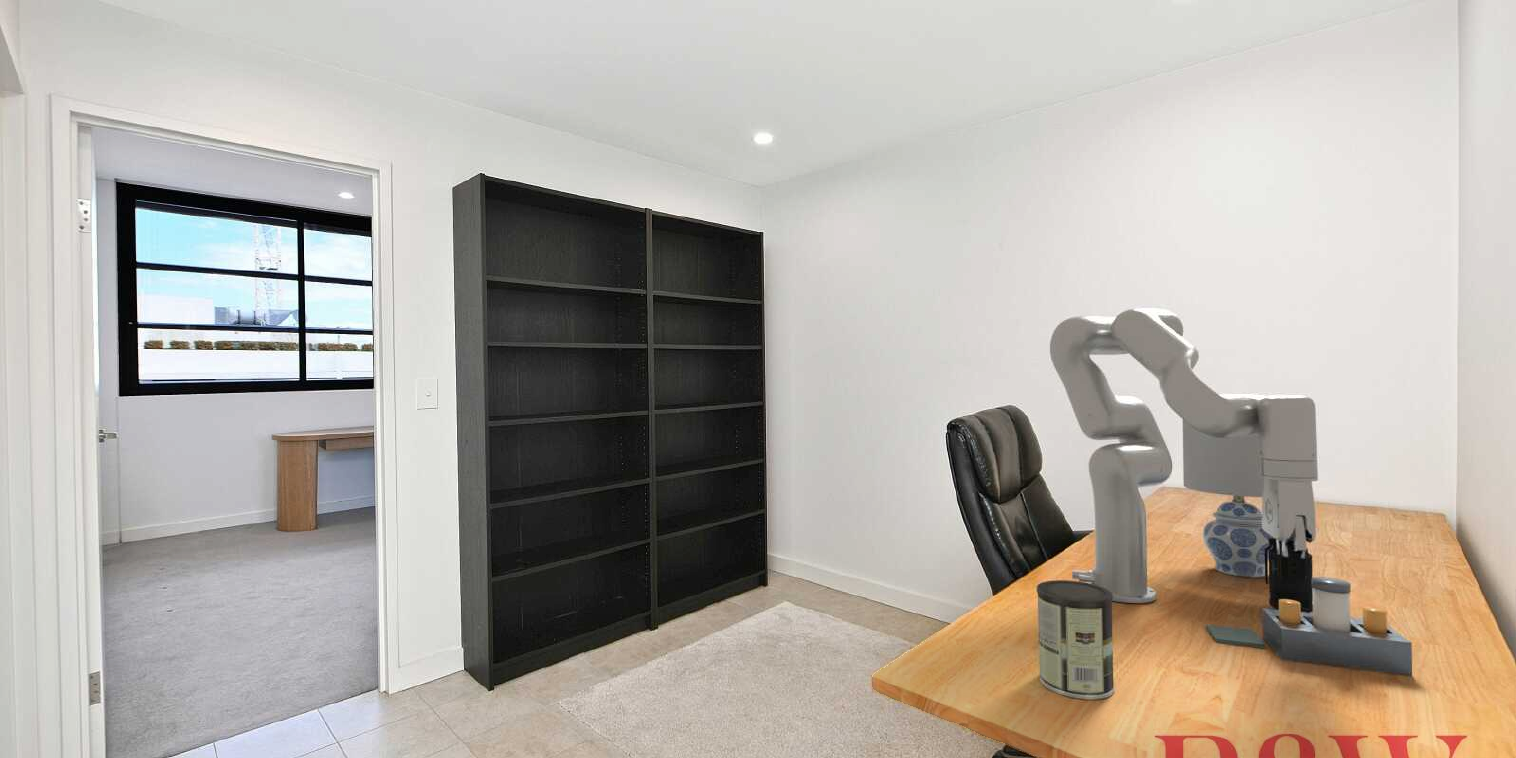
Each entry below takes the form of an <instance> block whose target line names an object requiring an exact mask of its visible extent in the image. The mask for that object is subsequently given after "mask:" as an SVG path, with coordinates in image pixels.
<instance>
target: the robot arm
mask: <svg viewBox="0 0 1516 758" xmlns="http://www.w3.org/2000/svg"><path fill="white" fill-rule="evenodd" d="M1183 335H1184V326H1183V323H1182V320H1181V319H1180V317H1178V315H1176V314H1175V313H1173V312H1171V311H1169V310H1167V309H1159V308H1158V309H1157V308H1131V309H1126V310H1124V311H1122V312H1120V313H1119V314H1117V315H1116V316H1093V315H1092V316H1088V315H1087V316H1086V315H1081V316H1080V315H1079V316H1074V317H1073V316H1072V317H1070V318H1066V319H1064V320H1063V321H1061V322H1060V323H1059V324H1058V325H1056V327H1055V329H1054V330H1053V332H1052V335H1051V338H1050V342H1049V355H1050V360H1051V362H1052V364H1053V367H1054V370H1055V371H1056V373H1057V374H1058V377H1059V378H1060V381H1061V383H1062V384H1063V387H1064V389H1065V391H1066V394H1067V397H1068V400H1069V403H1070V405H1071V408H1072V409H1073V412H1074V416H1075V418H1076V420H1077V423H1078V426H1079V427H1080V429H1081V431H1082V433H1083V434H1084V435H1085V437H1086V438H1088V439H1091V440H1096V441H1113V440H1118V441H1119V443H1110V444H1109V443H1108V444H1106V445H1103V446H1101V447H1099V448H1096V450H1095V451H1093V453H1092V454H1091V456H1090V458H1089V461H1088V473H1089V476H1090V478H1089V479H1090V482H1091V485H1092V486H1091V487H1092V493H1093V503H1094V504H1093V505H1094V506H1093V507H1094V538H1095V541H1094V543H1095V544H1094V547H1095V551H1094V552H1095V566H1092V569H1088V571H1086V570H1083V571H1082V570H1080V569H1072V570H1071V578H1072V579H1073V580H1078V582H1085V583H1090V584H1094V585H1097V586H1100V587H1103V588H1105V589H1107V590H1109V591H1110V592H1111V593H1112V595H1113V600H1112V602H1118V603H1127V604H1144V603H1145V604H1146V603H1152V602H1154V601H1155V600H1156V599H1157V592H1156V591H1155V590H1154V589H1153V588H1151V587H1149V586H1148V553H1147V552H1148V551H1147V550H1148V549H1147V548H1148V547H1147V545H1148V544H1147V510H1146V506H1145V503H1144V499H1143V498H1142V495H1141V493H1140V491H1139V488H1146V487H1153V486H1158V485H1161V484H1163V483H1165V482H1166V481H1168V479H1169V478H1170V477H1171V474H1172V472H1173V461H1172V457H1171V454H1170V451H1169V449H1168V446H1167V444H1166V442H1165V439H1164V437H1163V435H1162V432H1161V431H1160V427H1159V425H1158V423H1157V421H1156V418H1155V417H1154V414H1153V413H1152V411H1151V409H1150V408H1149V407H1148V406H1147V405H1146V404H1145V402H1144V401H1142V400H1140V399H1139V398H1137V397H1134V396H1129V395H1115V393H1114V392H1113V391H1112V389H1111V386H1110V384H1109V382H1108V379H1107V376H1106V374H1104V372H1103V370H1102V369H1101V368H1100V366H1098V365H1097V364H1096V363H1095V362H1094V361H1093V359H1091V355H1093V356H1097V355H1098V356H1099V355H1100V356H1105V355H1107V356H1118V355H1127V354H1129V355H1130V356H1131V357H1132V358H1133V359H1135V360H1136V361H1137V362H1138V363H1139V364H1140V365H1141V366H1142V367H1144V368H1145V369H1146V370H1147V371H1148V372H1149V373H1150V374H1152V375H1153V376H1154V377H1155V378H1156V379H1157V380H1158V382H1159V383H1158V384H1159V388H1160V391H1161V394H1162V396H1163V398H1164V400H1165V402H1166V404H1167V405H1168V406H1169V408H1170V409H1171V410H1172V411H1173V412H1174V413H1175V414H1176V415H1177V416H1178V417H1179V418H1181V419H1182V421H1183V420H1184V421H1185V422H1186V423H1188V424H1189V425H1190V426H1191V427H1192V428H1194V429H1195V430H1196V431H1198V432H1200V433H1202V434H1203V435H1206V436H1209V437H1212V438H1228V437H1246V436H1258V435H1259V457H1260V458H1259V461H1260V477H1261V478H1264V482H1263V494H1262V497H1261V501H1262V502H1261V506H1262V507H1261V514H1262V528H1263V530H1264V531H1265V532H1266V533H1268V534H1269V535H1271V536H1272V537H1274V538H1275V539H1276V542H1277V552H1278V554H1282V555H1277V557H1278V577H1279V578H1280V579H1281V580H1282V581H1286V582H1299V583H1304V582H1305V551H1307V543H1310V544H1311V543H1313V542H1314V541H1315V540H1316V535H1317V533H1316V532H1317V531H1316V530H1317V529H1316V528H1317V524H1316V523H1317V522H1316V507H1315V497H1314V495H1315V494H1314V489H1313V482H1317V481H1319V478H1318V477H1319V473H1318V471H1319V470H1318V448H1317V447H1318V446H1317V445H1318V444H1317V441H1318V440H1317V439H1318V437H1317V416H1316V415H1317V414H1316V411H1317V409H1316V404H1315V401H1314V400H1313V399H1312V398H1311V397H1309V396H1305V395H1268V396H1265V395H1258V394H1249V393H1248V394H1247V393H1245V394H1243V393H1240V394H1239V393H1238V394H1236V393H1235V394H1233V393H1232V394H1228V393H1227V394H1219V393H1217V392H1216V391H1215V390H1213V389H1212V388H1211V387H1209V386H1208V385H1207V384H1206V383H1204V382H1203V381H1202V380H1201V379H1200V378H1199V377H1198V376H1197V375H1196V374H1195V372H1194V371H1193V369H1194V368H1195V367H1196V365H1197V364H1198V360H1199V359H1200V358H1199V357H1200V355H1199V351H1198V350H1197V348H1196V347H1195V346H1194V345H1192V344H1191V343H1190V342H1188V341H1187V340H1186V339H1184V338H1183Z"/></svg>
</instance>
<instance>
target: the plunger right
mask: <svg viewBox="0 0 1516 758" xmlns="http://www.w3.org/2000/svg"><path fill="white" fill-rule="evenodd" d="M1387 614H1388V613H1387V610H1385V609H1381V608H1378V607H1373V606H1372V607H1371V606H1363V607H1362V618H1363V629H1364V630H1365V631H1370V632H1379V633H1387V625H1388V616H1387Z"/></svg>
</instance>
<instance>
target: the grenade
mask: <svg viewBox="0 0 1516 758" xmlns="http://www.w3.org/2000/svg"><path fill="white" fill-rule="evenodd" d="M1268 542H1269V544H1270V545H1269V546H1268V547H1267V548H1265V549H1264V550H1265V576H1264V582H1265V584H1266V585H1269V587H1268V588H1269V589H1268V590H1269V599H1268V604H1269V605H1270V606H1271V607H1272V608H1273V609H1274V610H1279V600H1280V599H1289V600H1294V601H1297V602H1300V608H1301V612H1304V613H1313V587H1312V578H1313V576H1314V575H1313V555H1312V554H1311V553H1309V549H1308V548H1307V551H1305V582H1304V583H1299V582H1286V581H1282V580H1281V579H1280V578H1279V577H1278V557H1277V555H1282V554H1278V552H1277V542H1276V539H1275V538H1269V539H1268ZM1272 545H1273V548H1272ZM1271 548H1272V549H1271ZM1269 549H1270V550H1269ZM1268 550H1269V562H1268V552H1267V551H1268Z"/></svg>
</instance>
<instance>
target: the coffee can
mask: <svg viewBox="0 0 1516 758" xmlns="http://www.w3.org/2000/svg"><path fill="white" fill-rule="evenodd" d="M1036 592H1037V616H1038V617H1037V621H1038V623H1037V624H1038V660H1039V667H1038V668H1039V673H1038V674H1039V676H1038V679H1039V683H1041V684H1042V685H1043V687H1045V688H1046V689H1047V690H1050V691H1052V692H1054V693H1056V694H1058V695H1062V696H1064V697H1066V698H1072V699H1076V700H1078V699H1079V700H1085V701H1086V700H1088V701H1089V700H1090V701H1094V700H1095V701H1096V700H1104V699H1107V698H1109V697H1111V696H1112V695H1113V694H1114V693H1115V685H1114V684H1115V683H1114V655H1113V654H1114V649H1113V648H1114V646H1113V612H1112V611H1113V605H1112V604H1113V601H1112V600H1113V595H1112V593H1111V592H1110V591H1109V590H1107V589H1105V588H1103V587H1100V586H1097V585H1094V584H1090V582H1081V581H1079V580H1078V581H1077V580H1067V579H1066V580H1065V579H1064V580H1063V579H1059V580H1058V579H1057V580H1047V581H1042V582H1040V583H1039V584H1037V585H1036Z"/></svg>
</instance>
